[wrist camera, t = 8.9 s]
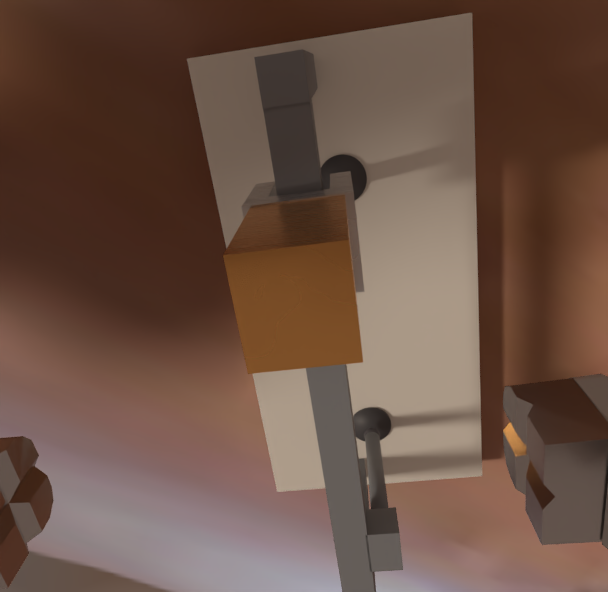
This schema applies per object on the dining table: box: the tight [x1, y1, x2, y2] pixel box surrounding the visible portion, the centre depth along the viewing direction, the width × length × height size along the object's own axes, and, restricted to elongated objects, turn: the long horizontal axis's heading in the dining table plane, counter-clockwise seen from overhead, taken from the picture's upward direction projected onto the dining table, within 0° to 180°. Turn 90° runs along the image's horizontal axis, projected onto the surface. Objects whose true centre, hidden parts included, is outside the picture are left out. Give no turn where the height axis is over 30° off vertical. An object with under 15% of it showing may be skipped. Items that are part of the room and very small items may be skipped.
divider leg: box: [223, 171, 365, 374], centre depth 21 cm, size 4×4×16 cm
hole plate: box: [187, 13, 482, 592], centre depth 28 cm, size 14×28×12 cm, turn 8°
